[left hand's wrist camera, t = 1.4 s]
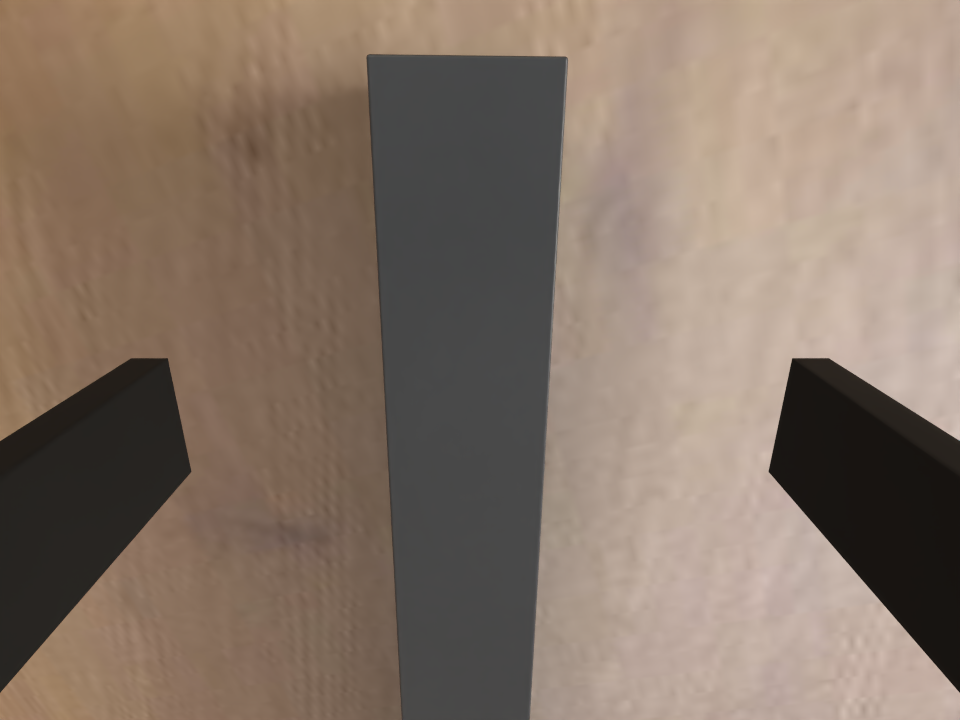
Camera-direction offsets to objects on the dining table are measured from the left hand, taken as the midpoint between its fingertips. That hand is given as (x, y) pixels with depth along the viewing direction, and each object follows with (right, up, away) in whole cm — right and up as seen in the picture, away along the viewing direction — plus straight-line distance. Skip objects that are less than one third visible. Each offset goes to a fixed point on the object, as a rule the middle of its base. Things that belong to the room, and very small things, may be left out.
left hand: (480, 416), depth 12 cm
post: (-1, -19, +22) cm, 29 cm away
